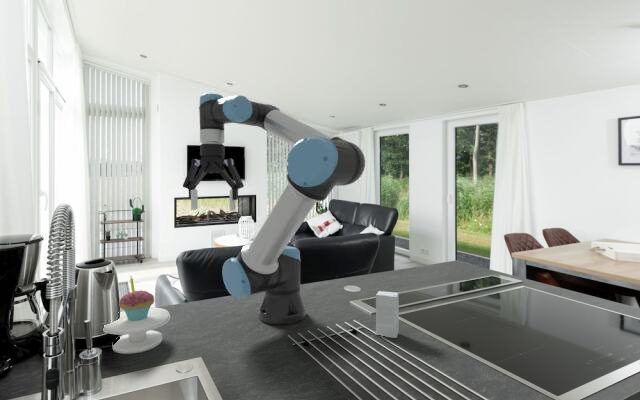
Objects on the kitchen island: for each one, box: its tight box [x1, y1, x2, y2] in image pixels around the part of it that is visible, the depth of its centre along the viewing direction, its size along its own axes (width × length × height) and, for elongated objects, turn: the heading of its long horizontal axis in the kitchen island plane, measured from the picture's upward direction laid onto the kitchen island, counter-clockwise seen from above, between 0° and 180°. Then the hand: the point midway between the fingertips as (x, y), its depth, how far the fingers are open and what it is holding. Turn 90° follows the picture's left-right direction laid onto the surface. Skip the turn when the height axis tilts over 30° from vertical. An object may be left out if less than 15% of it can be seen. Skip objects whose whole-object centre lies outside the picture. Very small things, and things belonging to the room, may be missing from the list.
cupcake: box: [119, 275, 155, 321], centre depth 100 cm, size 9×8×12 cm
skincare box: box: [375, 290, 400, 339], centre depth 107 cm, size 6×4×12 cm
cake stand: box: [102, 306, 171, 355], centre depth 101 cm, size 17×17×7 cm
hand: (213, 210), depth 120 cm, fingers open, 13 cm apart
